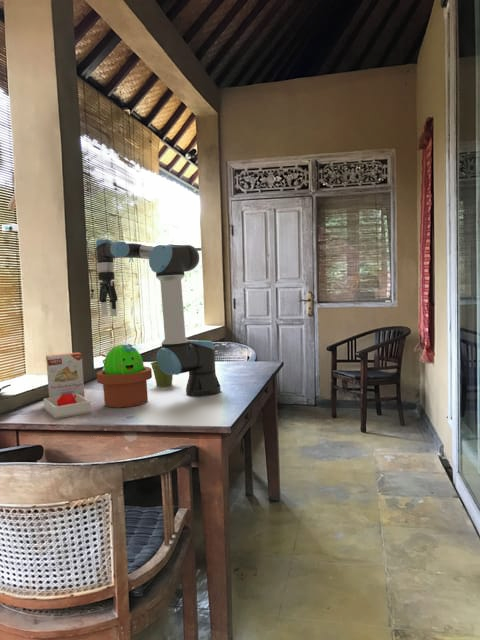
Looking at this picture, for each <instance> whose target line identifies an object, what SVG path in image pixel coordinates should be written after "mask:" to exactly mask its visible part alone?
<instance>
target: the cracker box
mask: <svg viewBox="0 0 480 640" xmlns="http://www.w3.org/2000/svg"><path fill="white" fill-rule="evenodd" d="M45 361H46V372H47V373H46V375H47V386H48V387H47V389H48V398H50V397H56V396H62V394H70V393H72V394H75V393H77V394H79V395H81V396H82V397H84V398H86V397H85V387H84V369H83V353H81V352H69V353H59V354H49V355H46V356H45Z"/></svg>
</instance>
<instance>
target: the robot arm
mask: <svg viewBox="0 0 480 640" xmlns="http://www.w3.org/2000/svg"><path fill="white" fill-rule="evenodd" d="M95 250H96V251H95V253H96V266H97V271H98V274H97V275H98V276H97V277H98V279H97V280H98V281H100V282H99V296H98V299H99V302H100V306H101V307H100V309H101V316H109V315H108V313H109V312H110V317H117V316H118V313H117V301H118V295H117V291H116V287H115V282H114V280H115V278H116V277H115V272H114V271H115V264H114V259H123V258H124V259H142V260H143V259H144V260H148V265H149V267H150V268H151V269H150V270H151V271H152V272H154V273H155V278H156V279H158V280H159V282H160V283H159V284H160V294H161V295H160V296H161V305H162V306H161V308H162V316H163V317H162V320H163V330H164V331H163V333H164V339H163V340H162V342H161V348H160V349H158V350H157V353H156V362H157V363H158V366H159V367H160V369H161V370H162V371H163V372H164V373H165V374H167V375H173V376H177V375H180V374H184V373H188V379H187V383H186V387H185V393H186V395H188V396H193V397H194V396H195V397H198V396H199V397H201V396H203V397H204V396H205V397H206V396H211V395H216V394H219V393H220V392H221V385H220V382H219V378H218V377H217V373H216V356H215V355H216V354H215V345H214V343H213V341H212V340H198V339H197V340H196V339H195V340H193V339H190V340H189V339H188V338H187V337H186V327H185V315H184V314H185V313H184V302H183V288H182V280H183V278H184V277H185V272H190V271H192V270H194V269H195V268H197V266H198V264H199V263H200V254H199V251H198V249H197V248H195V246H193V245H191V244H186V243H166V242H165V243H159V244H156V243H149V242H145V241H138V242H137V241H125V240H115V241H112V239H110V238H99V239H97V240H96V241H95ZM101 281H102V282H101ZM107 297H108V298H107ZM107 299H109V302H108V300H107ZM107 302H108V303H109V309H110V310H109V312H108V303H107Z"/></svg>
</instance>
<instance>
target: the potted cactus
mask: <svg viewBox="0 0 480 640" xmlns="http://www.w3.org/2000/svg"><path fill="white" fill-rule="evenodd" d="M152 372H153V369H152V367H150V366H146V365H144V360H143V357H142V355H141V353H140V352H139V351H138V350H137V348H135V347H133V344H129V343H125V344H124V343H123V344H118V345H115V346H113V347H112V348H111V349H110V350H108V352H107V353H106V356H105V358H104V362H103V370H99V371H97V372H96V382H97V383H98V384H100V385H102V386H103V401H104V405H105V406H106V407H109V408H115V409H116V408H117V409H119V408H129V407H130V406H131V407H135V405H136V406H139V405H140V406H141V405H143V404H145V403H147V402H148V400H149V397H148V383H147V382H148V380H150V379H152V377H153V373H152Z"/></svg>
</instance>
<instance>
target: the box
mask: <svg viewBox="0 0 480 640" xmlns="http://www.w3.org/2000/svg"><path fill="white" fill-rule="evenodd" d="M75 394H76V398H75V400H76V402H77V403H75V404H69V405H63V406H58V405H57V400H58V399H59V398H60V397H61V396H56V397H50V398H49V397H45V398H43V407H44V408H43V410H44V411H46V413H48V414H49V415H50V416H51V417H52V418H53V419H55V420H58V419H64V418H71V417H75V416H81V415H86V414H92V402H91V400H89V399H87V398H86V397H85V396H84V397H85V398H84V397H82V396H81V395H79V394H77V393H75ZM75 394H73V396H74V395H75Z"/></svg>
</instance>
